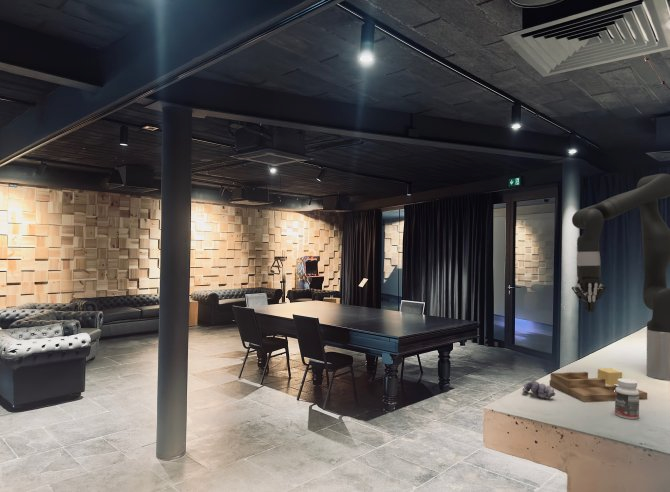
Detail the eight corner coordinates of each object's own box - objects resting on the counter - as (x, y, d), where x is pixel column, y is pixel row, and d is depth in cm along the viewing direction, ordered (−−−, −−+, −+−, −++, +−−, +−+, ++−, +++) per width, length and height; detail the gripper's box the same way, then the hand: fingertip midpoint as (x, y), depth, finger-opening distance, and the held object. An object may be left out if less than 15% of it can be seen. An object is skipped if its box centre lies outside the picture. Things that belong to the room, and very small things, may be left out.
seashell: (521, 397, 147) (554, 406, 141) (518, 386, 145) (551, 394, 138) (527, 384, 150) (559, 392, 144) (523, 374, 148) (556, 381, 141)
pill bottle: (610, 412, 131) (610, 377, 131) (628, 412, 131) (629, 377, 132) (624, 419, 125) (624, 383, 125) (644, 419, 126) (644, 383, 126)
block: (610, 380, 157) (610, 368, 157) (621, 384, 152) (622, 372, 152) (597, 380, 156) (597, 368, 156) (608, 384, 151) (608, 372, 151)
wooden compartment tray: (606, 383, 160) (606, 377, 160) (647, 399, 143) (647, 392, 143) (549, 385, 156) (549, 379, 156) (584, 402, 140) (584, 395, 140)
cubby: (586, 379, 158) (586, 371, 158) (605, 386, 149) (605, 379, 149) (550, 380, 156) (550, 373, 156) (568, 388, 147) (568, 380, 147)
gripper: (596, 263, 170) (597, 310, 170) (565, 264, 167) (566, 311, 167) (612, 264, 163) (613, 312, 162) (579, 265, 160) (581, 314, 160)
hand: (589, 312), depth 165 cm, fingers closed
